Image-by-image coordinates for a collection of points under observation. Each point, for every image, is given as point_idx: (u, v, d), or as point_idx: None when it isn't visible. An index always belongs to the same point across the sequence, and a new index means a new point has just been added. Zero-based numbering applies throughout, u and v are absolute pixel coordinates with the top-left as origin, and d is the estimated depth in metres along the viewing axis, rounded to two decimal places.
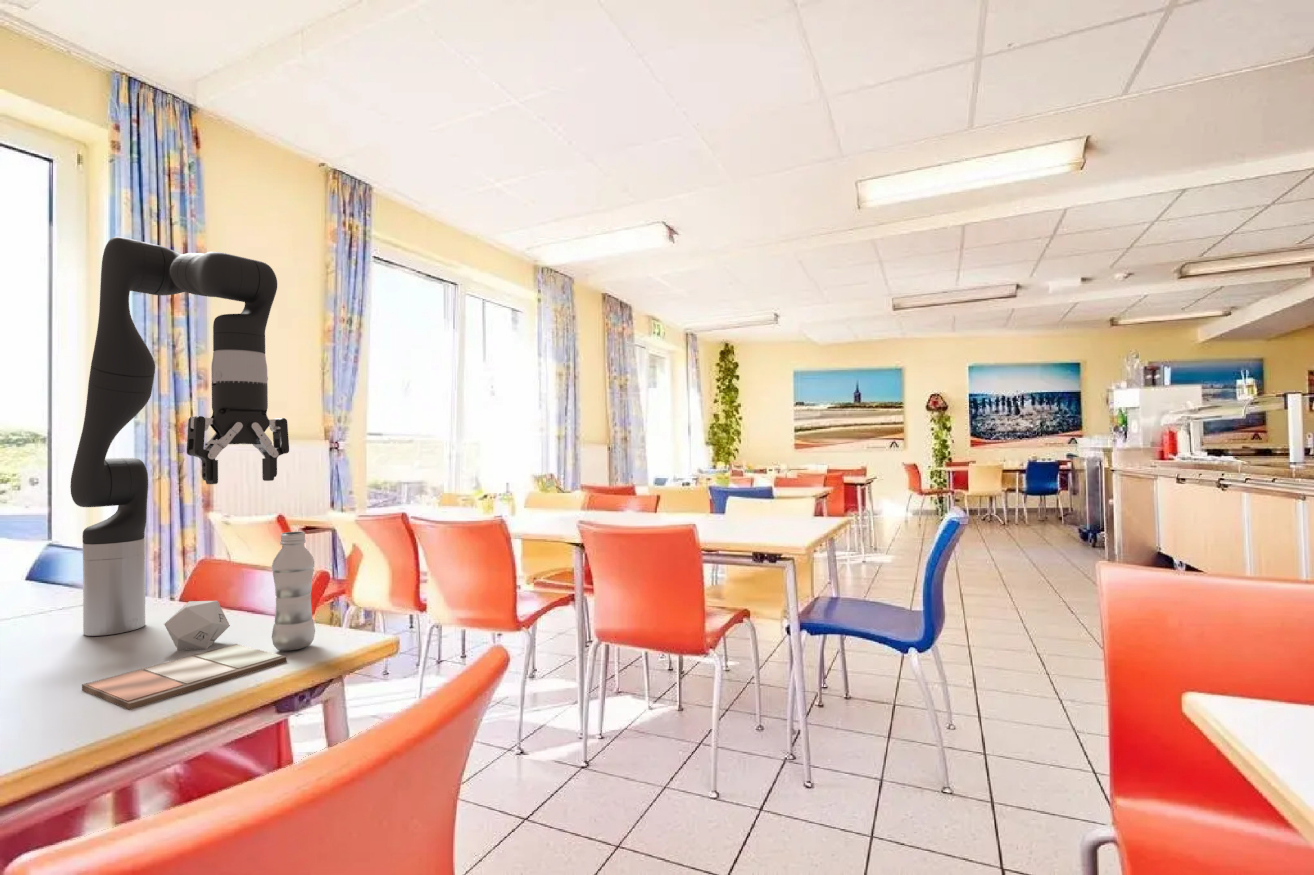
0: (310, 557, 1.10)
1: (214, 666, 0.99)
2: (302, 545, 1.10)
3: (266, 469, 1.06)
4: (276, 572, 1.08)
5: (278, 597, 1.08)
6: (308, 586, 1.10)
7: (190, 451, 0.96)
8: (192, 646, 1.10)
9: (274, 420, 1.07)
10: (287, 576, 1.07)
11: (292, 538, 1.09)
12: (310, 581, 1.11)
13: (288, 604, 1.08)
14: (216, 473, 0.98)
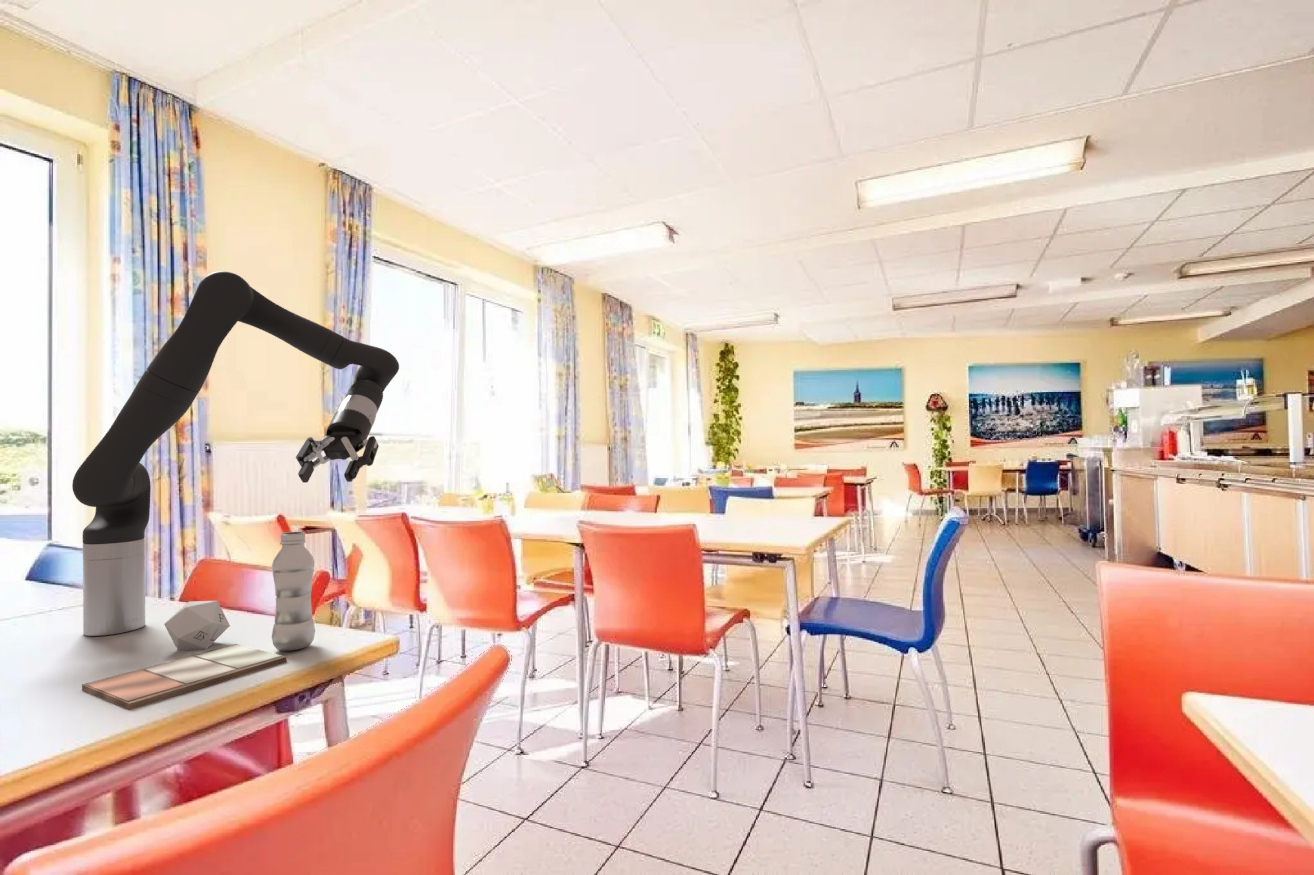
0: (310, 557, 1.10)
1: (214, 666, 0.99)
2: (302, 545, 1.10)
3: (308, 472, 1.23)
4: (276, 572, 1.08)
5: (278, 597, 1.08)
6: (308, 586, 1.10)
7: (370, 458, 1.25)
8: (192, 646, 1.10)
9: None
10: (287, 576, 1.07)
11: (292, 538, 1.09)
12: (310, 581, 1.11)
13: (288, 604, 1.08)
14: None
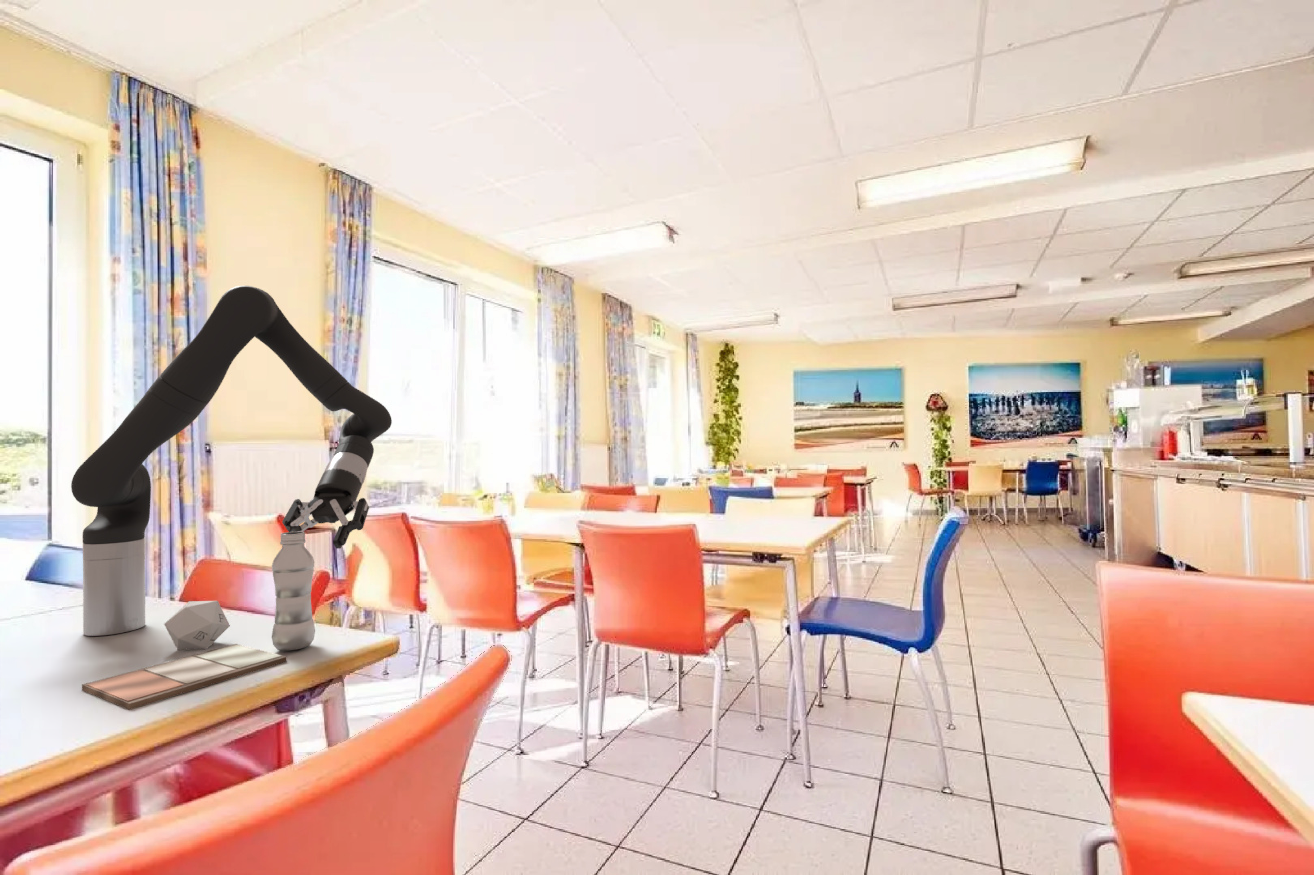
0: (310, 557, 1.10)
1: (214, 666, 0.99)
2: (302, 545, 1.10)
3: None
4: (276, 572, 1.08)
5: (278, 597, 1.08)
6: (308, 586, 1.10)
7: (360, 523, 1.21)
8: (192, 646, 1.10)
9: None
10: (287, 576, 1.07)
11: (292, 538, 1.09)
12: (310, 581, 1.11)
13: (288, 604, 1.08)
14: None
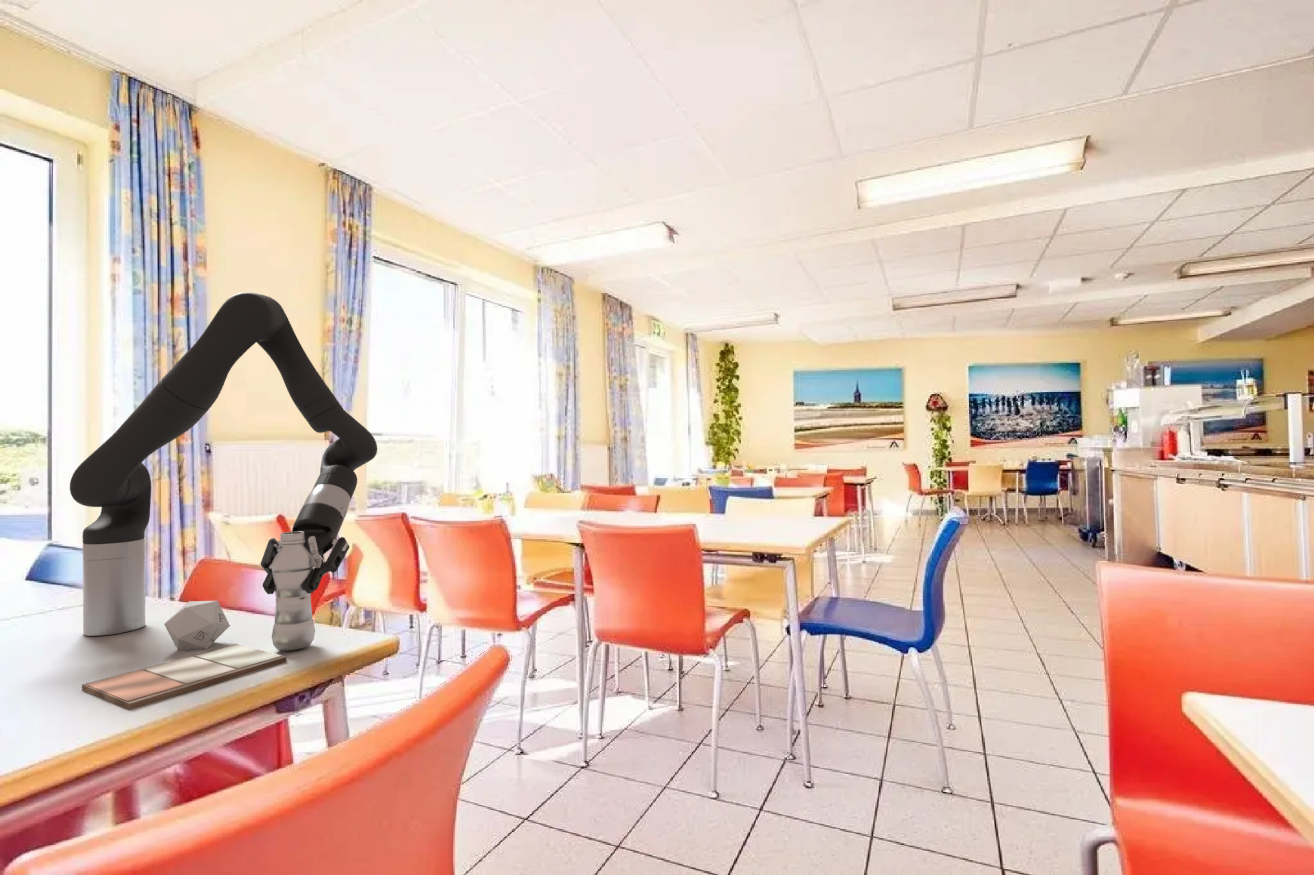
0: (310, 557, 1.10)
1: (214, 666, 0.99)
2: (302, 545, 1.10)
3: None
4: (276, 572, 1.08)
5: (278, 597, 1.08)
6: None
7: (334, 565, 1.12)
8: (192, 646, 1.10)
9: None
10: (287, 576, 1.07)
11: (292, 537, 1.09)
12: None
13: (288, 604, 1.08)
14: None
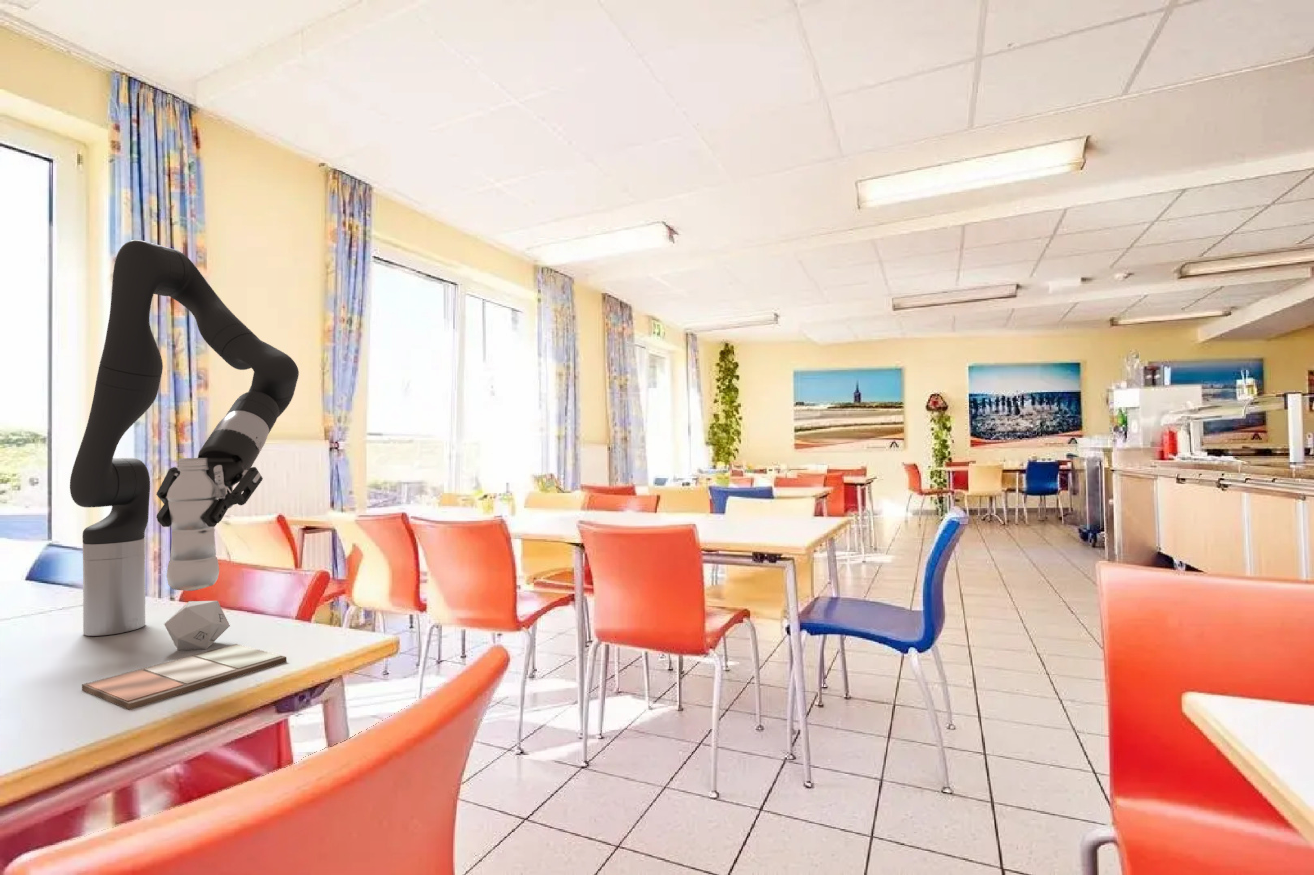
0: (213, 486, 0.97)
1: (214, 666, 0.99)
2: (204, 472, 0.97)
3: None
4: (171, 501, 0.95)
5: (174, 530, 0.95)
6: None
7: (241, 497, 0.99)
8: (192, 646, 1.10)
9: None
10: (183, 506, 0.94)
11: (191, 463, 0.96)
12: None
13: (185, 537, 0.95)
14: None
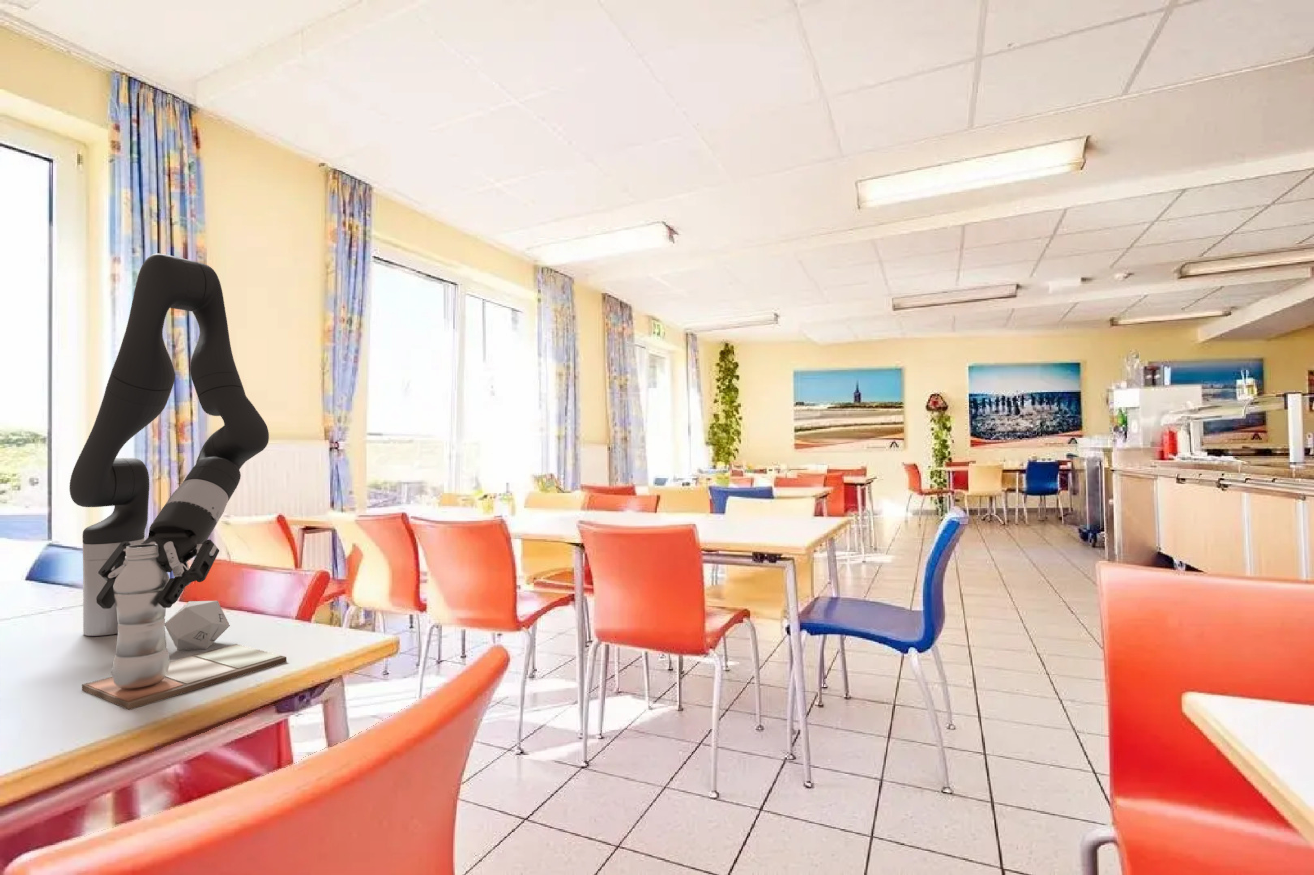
0: (162, 575, 0.91)
1: (214, 666, 0.99)
2: (153, 561, 0.91)
3: (112, 594, 0.91)
4: (116, 594, 0.89)
5: (119, 624, 0.89)
6: (158, 610, 0.91)
7: (200, 573, 0.93)
8: (192, 646, 1.10)
9: None
10: (129, 599, 0.89)
11: (138, 552, 0.90)
12: None
13: (130, 632, 0.89)
14: None
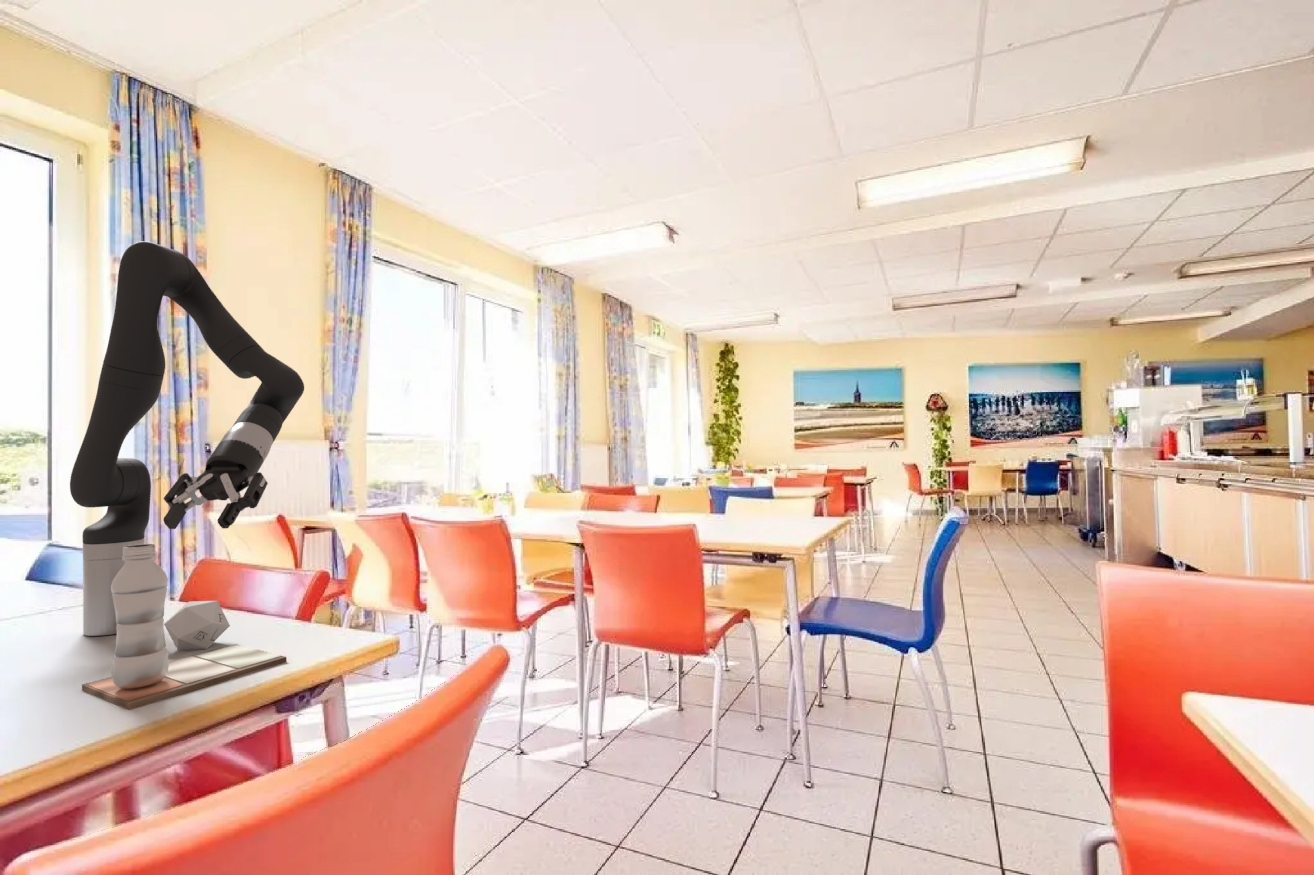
0: (160, 575, 0.92)
1: (214, 666, 0.99)
2: (150, 560, 0.92)
3: (177, 516, 1.04)
4: (114, 594, 0.89)
5: (118, 624, 0.89)
6: (157, 610, 0.91)
7: (253, 500, 1.06)
8: (192, 646, 1.10)
9: None
10: (127, 599, 0.89)
11: (135, 552, 0.90)
12: (160, 604, 0.92)
13: (129, 632, 0.89)
14: None
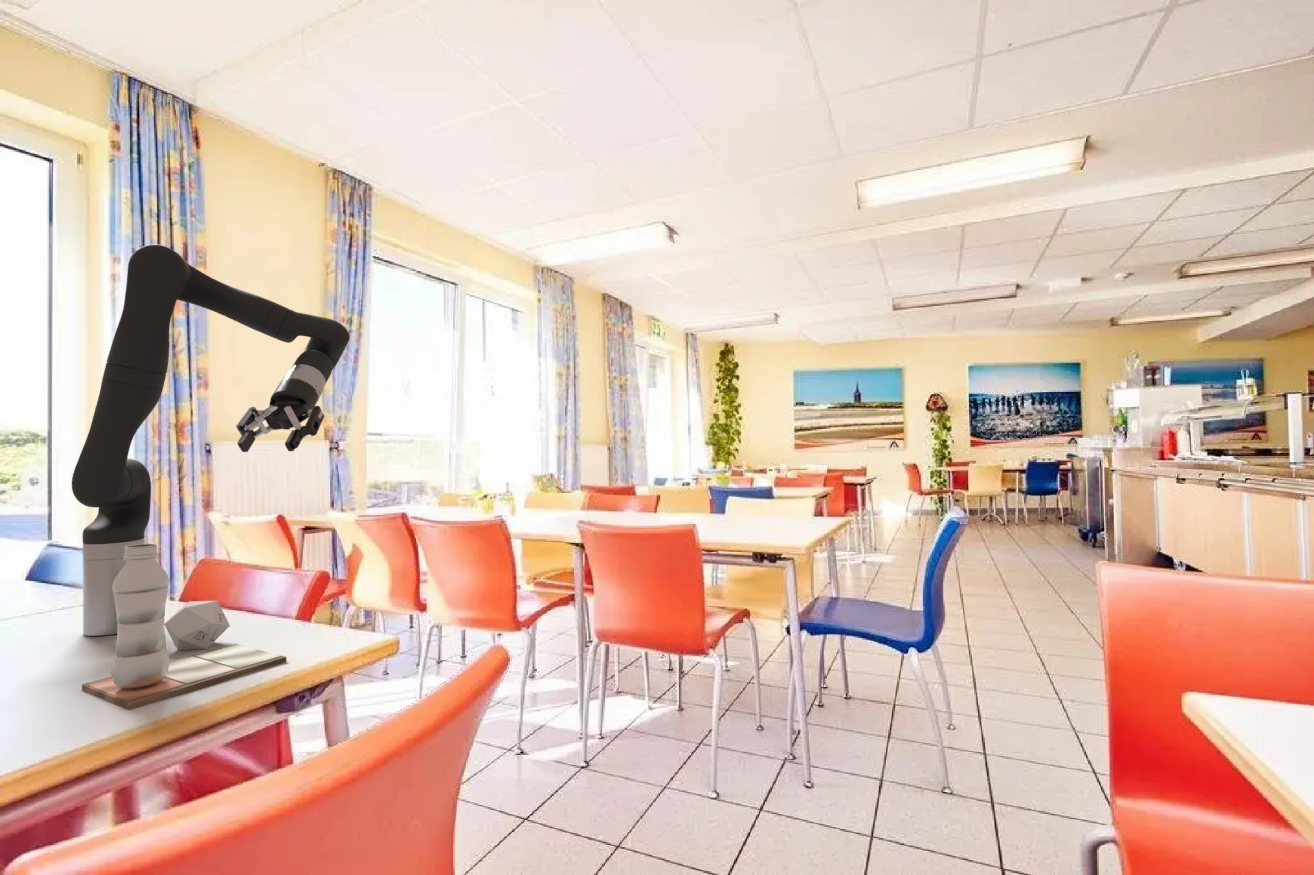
0: (161, 575, 0.92)
1: (214, 666, 0.99)
2: (152, 560, 0.92)
3: (248, 441, 1.19)
4: (116, 594, 0.89)
5: (118, 623, 0.89)
6: (157, 610, 0.91)
7: (313, 428, 1.21)
8: (192, 646, 1.10)
9: None
10: (128, 598, 0.89)
11: (137, 551, 0.90)
12: (161, 604, 0.92)
13: (129, 632, 0.89)
14: None
